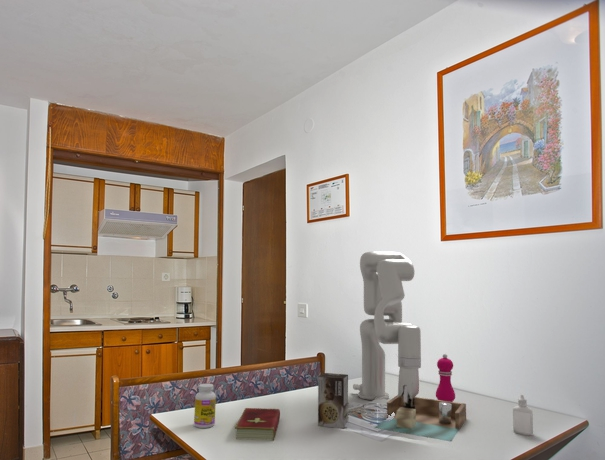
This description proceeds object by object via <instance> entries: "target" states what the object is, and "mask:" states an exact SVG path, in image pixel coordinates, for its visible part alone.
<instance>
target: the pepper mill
mask: <svg viewBox="0 0 605 460" xmlns="http://www.w3.org/2000/svg"><path fill="white" fill-rule="evenodd" d="M436 366H437V369H438V375H439V382H438V386H437V388H436V391H435V398H436V400H442V401H449V402H455V401H454V400H456V392H455V389H454V387H453V385H452V382H451V379H452V376H453V374H452V373H453V371H452V370H453V368H454V362H453V361H452V360H451V359H450V358H449V357H448V355H447V353H443V354H442V357H440V358H439V359H438V360H437V362H436Z"/></svg>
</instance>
